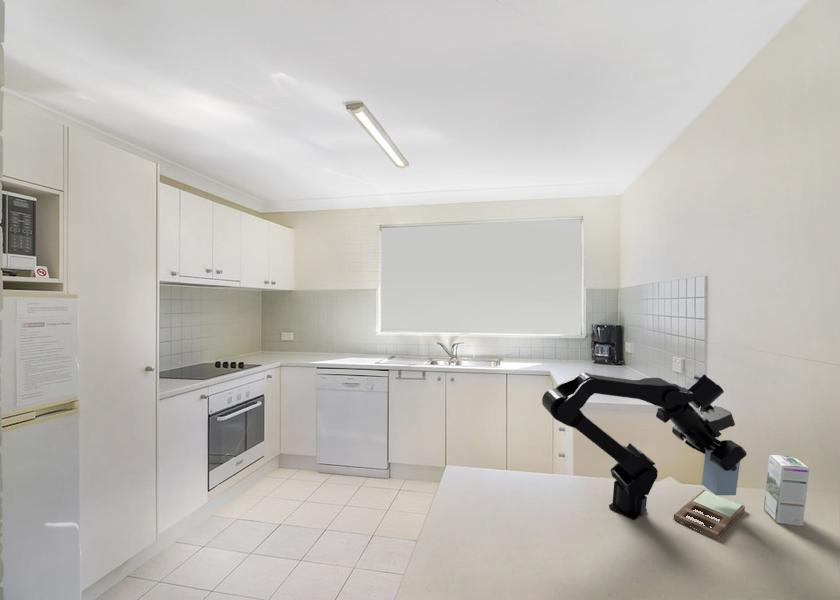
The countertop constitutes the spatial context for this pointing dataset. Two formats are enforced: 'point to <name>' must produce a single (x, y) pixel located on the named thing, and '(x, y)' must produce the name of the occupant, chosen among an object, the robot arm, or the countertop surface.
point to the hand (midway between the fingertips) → (726, 464)
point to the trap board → (710, 513)
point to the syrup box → (786, 489)
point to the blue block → (719, 477)
